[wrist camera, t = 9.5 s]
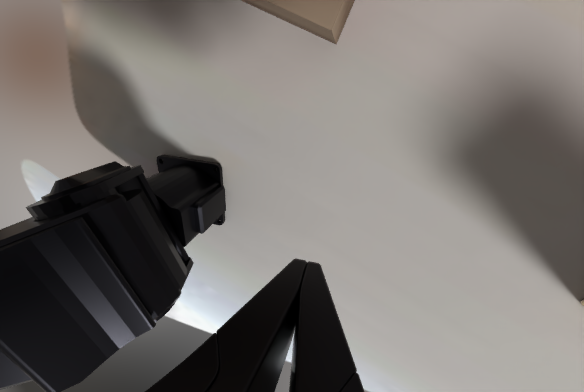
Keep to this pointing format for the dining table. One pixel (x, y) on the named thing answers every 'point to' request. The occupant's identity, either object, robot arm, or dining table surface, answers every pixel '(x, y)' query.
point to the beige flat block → (310, 14)
